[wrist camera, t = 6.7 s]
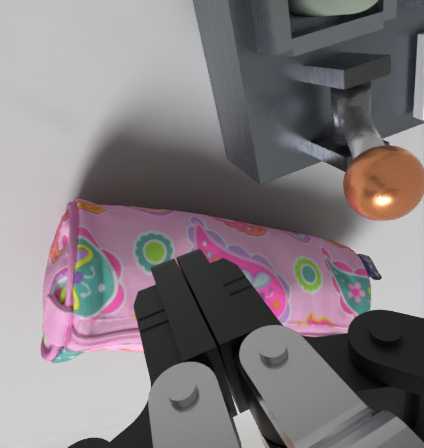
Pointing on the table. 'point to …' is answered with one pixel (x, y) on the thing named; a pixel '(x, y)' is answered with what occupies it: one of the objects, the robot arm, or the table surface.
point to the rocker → (419, 80)
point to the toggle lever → (373, 160)
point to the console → (304, 77)
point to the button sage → (328, 7)
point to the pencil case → (171, 248)
